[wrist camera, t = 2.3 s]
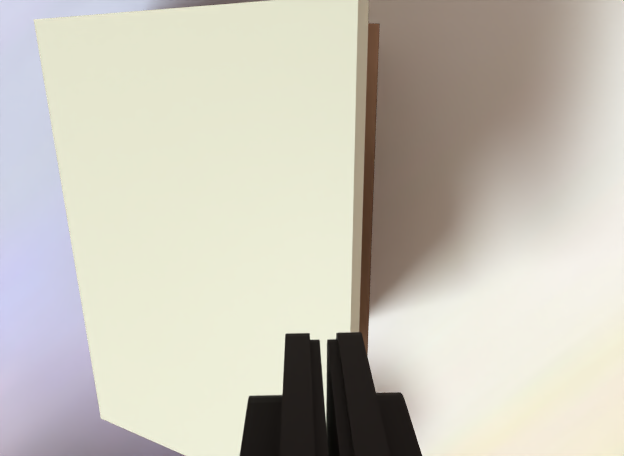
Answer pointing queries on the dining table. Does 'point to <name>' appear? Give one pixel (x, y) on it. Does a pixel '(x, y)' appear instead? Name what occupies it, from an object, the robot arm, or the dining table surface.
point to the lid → (209, 200)
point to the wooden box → (368, 177)
